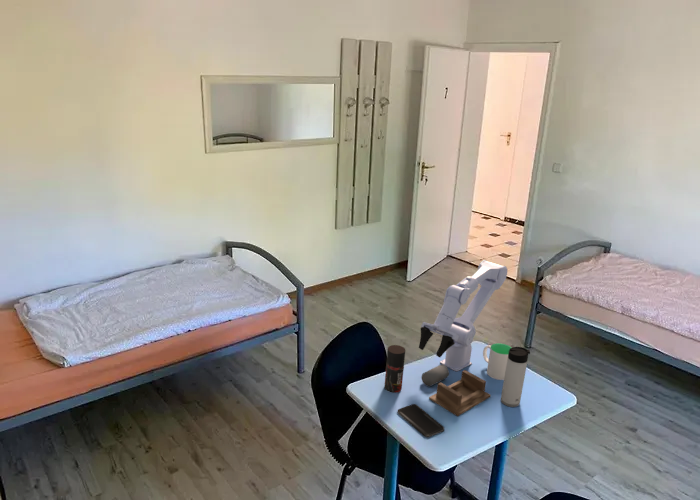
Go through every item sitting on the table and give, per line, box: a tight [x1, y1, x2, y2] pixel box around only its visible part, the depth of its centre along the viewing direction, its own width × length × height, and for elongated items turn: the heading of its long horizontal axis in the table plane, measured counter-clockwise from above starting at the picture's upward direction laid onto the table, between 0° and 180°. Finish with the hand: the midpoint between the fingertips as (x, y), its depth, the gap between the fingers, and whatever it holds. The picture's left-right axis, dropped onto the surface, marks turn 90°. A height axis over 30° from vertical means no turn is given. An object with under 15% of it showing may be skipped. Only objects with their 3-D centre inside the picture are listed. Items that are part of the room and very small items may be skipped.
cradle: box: [428, 369, 491, 417], centre depth 186 cm, size 18×12×6 cm, turn 132°
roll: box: [421, 364, 450, 387], centre depth 195 cm, size 9×5×5 cm, turn 132°
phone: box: [396, 403, 445, 438], centre depth 174 cm, size 8×1×15 cm
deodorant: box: [384, 344, 406, 394], centre depth 188 cm, size 6×6×15 cm
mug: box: [482, 342, 512, 381], centre depth 203 cm, size 12×8×10 cm, turn 36°
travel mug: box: [500, 346, 531, 408], centre depth 183 cm, size 6×7×20 cm
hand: (429, 352), depth 190 cm, fingers open, 7 cm apart
